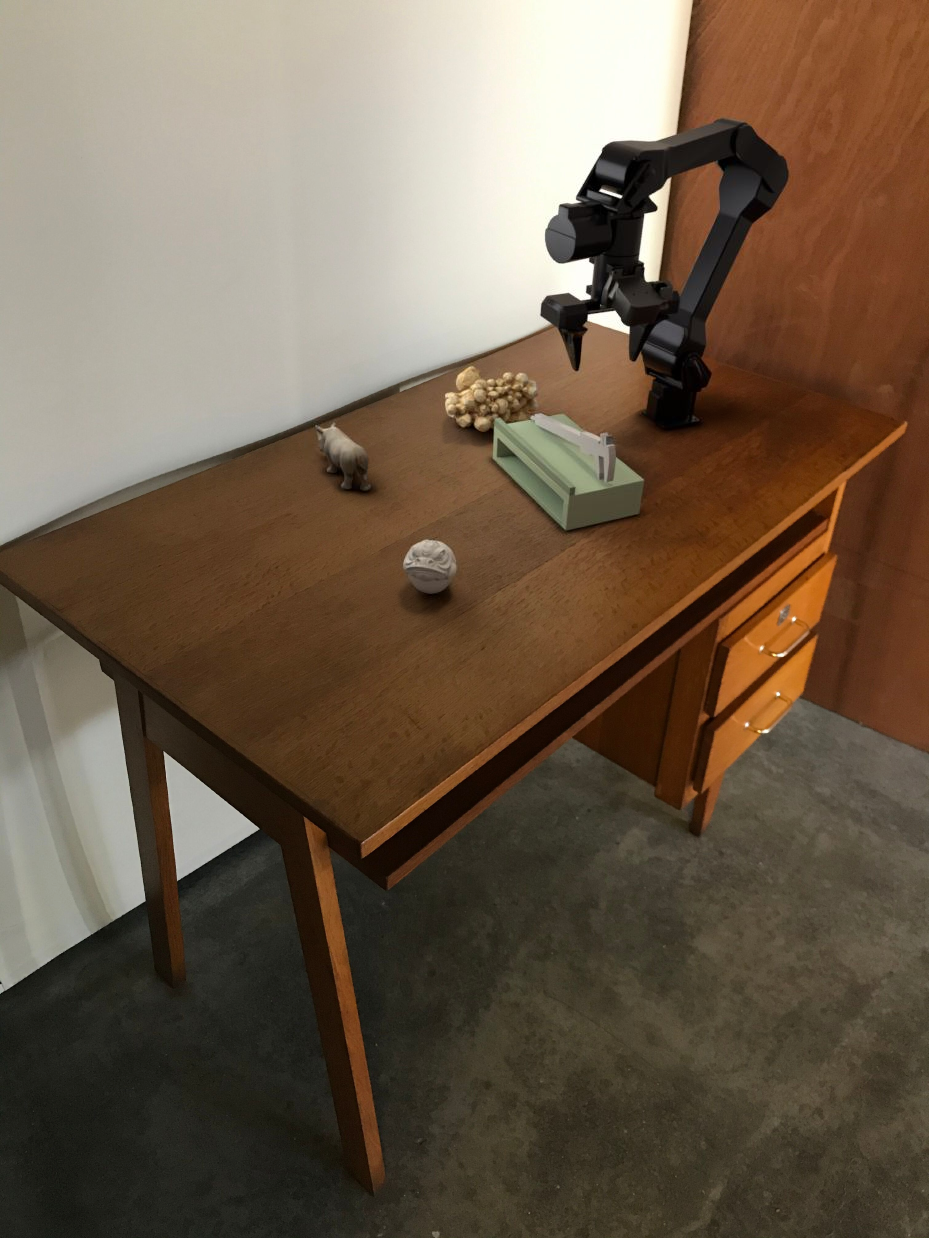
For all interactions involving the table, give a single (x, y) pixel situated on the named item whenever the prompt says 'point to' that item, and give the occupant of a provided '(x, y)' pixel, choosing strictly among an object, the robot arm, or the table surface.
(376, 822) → the table surface
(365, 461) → the rhino figurine
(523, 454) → the desk shelf
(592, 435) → the caliper
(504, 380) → the mineral formation
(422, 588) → the frog figurine
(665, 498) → the table surface
